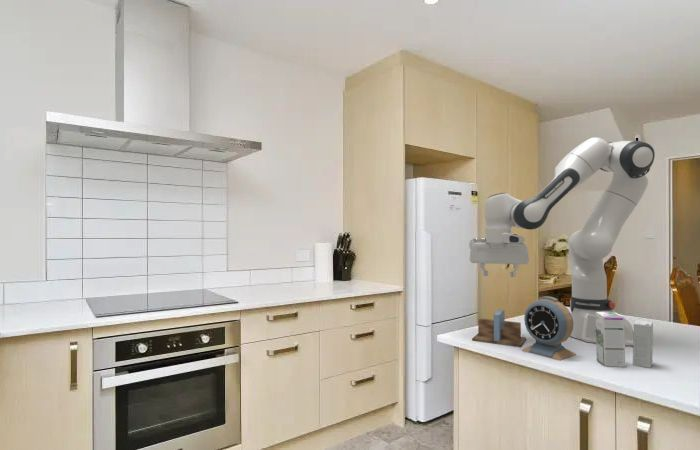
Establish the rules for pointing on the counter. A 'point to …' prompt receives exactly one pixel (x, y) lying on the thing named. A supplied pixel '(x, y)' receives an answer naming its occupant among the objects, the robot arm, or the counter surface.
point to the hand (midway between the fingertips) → (499, 276)
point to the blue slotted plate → (498, 324)
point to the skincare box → (643, 343)
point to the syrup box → (610, 339)
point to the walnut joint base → (508, 334)
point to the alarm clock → (549, 328)
